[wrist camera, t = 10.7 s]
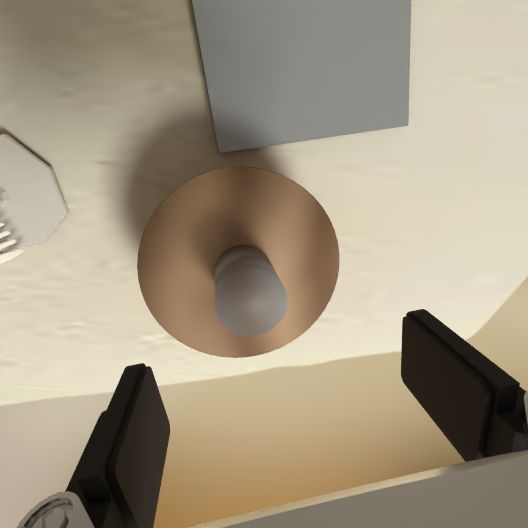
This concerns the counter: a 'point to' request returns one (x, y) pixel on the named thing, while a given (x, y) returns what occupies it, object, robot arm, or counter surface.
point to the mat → (303, 68)
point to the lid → (238, 262)
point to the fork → (9, 255)
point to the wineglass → (27, 196)
